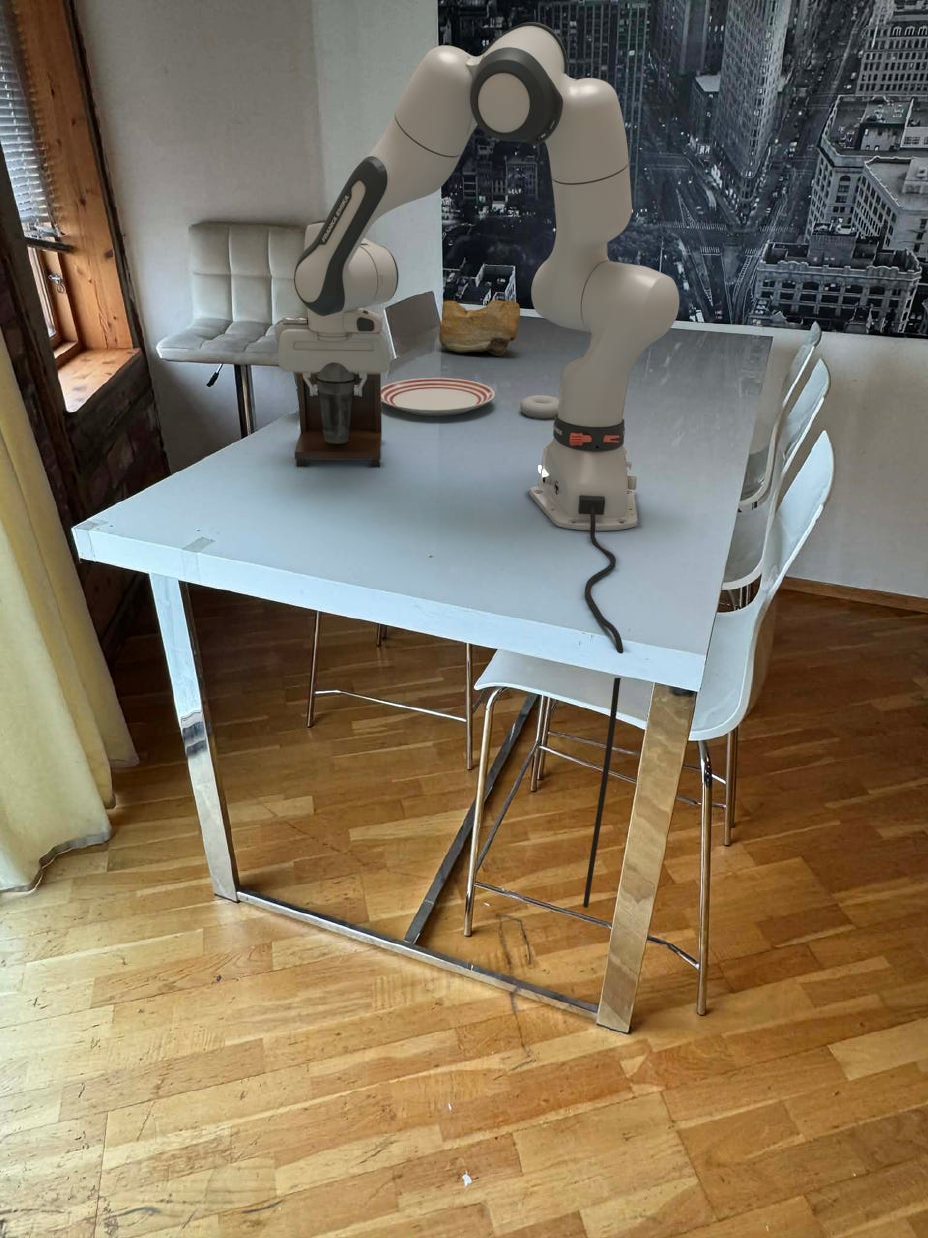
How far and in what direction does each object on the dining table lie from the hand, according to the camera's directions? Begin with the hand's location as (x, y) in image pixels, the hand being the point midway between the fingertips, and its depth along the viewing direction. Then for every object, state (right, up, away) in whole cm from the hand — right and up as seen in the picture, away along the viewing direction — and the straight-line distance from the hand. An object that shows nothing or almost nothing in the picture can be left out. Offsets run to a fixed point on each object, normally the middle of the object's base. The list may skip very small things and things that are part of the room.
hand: (336, 395), depth 158 cm
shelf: (0, -9, +9) cm, 13 cm away
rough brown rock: (+29, +36, +87) cm, 99 cm away
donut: (+42, +5, +36) cm, 55 cm away
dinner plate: (+17, +8, +39) cm, 43 cm away
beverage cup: (-1, -8, +4) cm, 9 cm away
